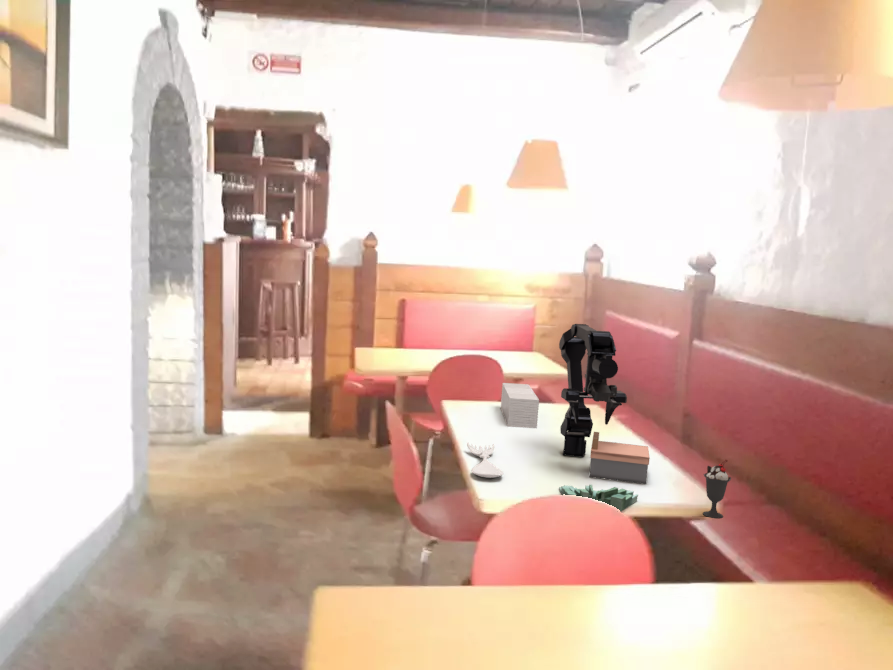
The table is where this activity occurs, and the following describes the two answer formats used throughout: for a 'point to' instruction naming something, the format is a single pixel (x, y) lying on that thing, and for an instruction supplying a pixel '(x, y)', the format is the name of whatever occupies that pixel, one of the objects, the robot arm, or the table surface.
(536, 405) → the stack of papers
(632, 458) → the lid
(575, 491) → the money
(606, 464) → the base
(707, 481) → the sundae
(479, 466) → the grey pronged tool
